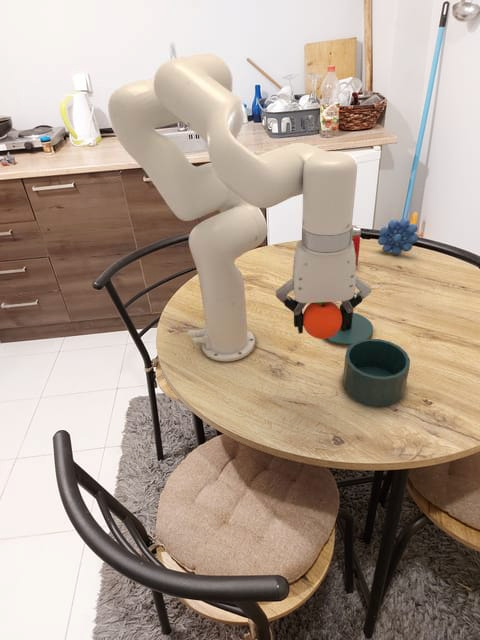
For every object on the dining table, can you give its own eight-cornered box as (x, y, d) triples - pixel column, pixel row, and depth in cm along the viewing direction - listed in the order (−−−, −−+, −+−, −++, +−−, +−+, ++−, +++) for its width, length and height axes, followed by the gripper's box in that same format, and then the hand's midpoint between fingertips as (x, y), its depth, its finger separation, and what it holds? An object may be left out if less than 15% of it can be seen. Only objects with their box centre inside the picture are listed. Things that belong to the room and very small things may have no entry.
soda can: (359, 271, 126) (363, 233, 119) (335, 272, 126) (338, 234, 119) (354, 259, 132) (358, 223, 125) (331, 261, 132) (334, 224, 125)
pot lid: (322, 349, 98) (323, 325, 94) (313, 316, 109) (314, 294, 105) (379, 345, 98) (382, 322, 94) (365, 313, 108) (367, 291, 104)
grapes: (418, 252, 133) (425, 215, 126) (412, 261, 128) (419, 224, 121) (380, 245, 138) (385, 210, 131) (374, 254, 134) (378, 218, 127)
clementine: (290, 330, 79) (290, 297, 74) (318, 316, 81) (320, 284, 77) (319, 352, 73) (322, 318, 69) (349, 336, 76) (352, 303, 72)
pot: (349, 409, 83) (353, 380, 78) (337, 367, 93) (340, 340, 88) (412, 405, 82) (419, 377, 78) (393, 364, 92) (398, 336, 88)
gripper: (376, 224, 69) (364, 313, 80) (269, 230, 70) (271, 318, 80) (389, 244, 63) (374, 338, 74) (271, 250, 64) (273, 343, 74)
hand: (320, 327), depth 77 cm, fingers closed on clementine, 7 cm apart
